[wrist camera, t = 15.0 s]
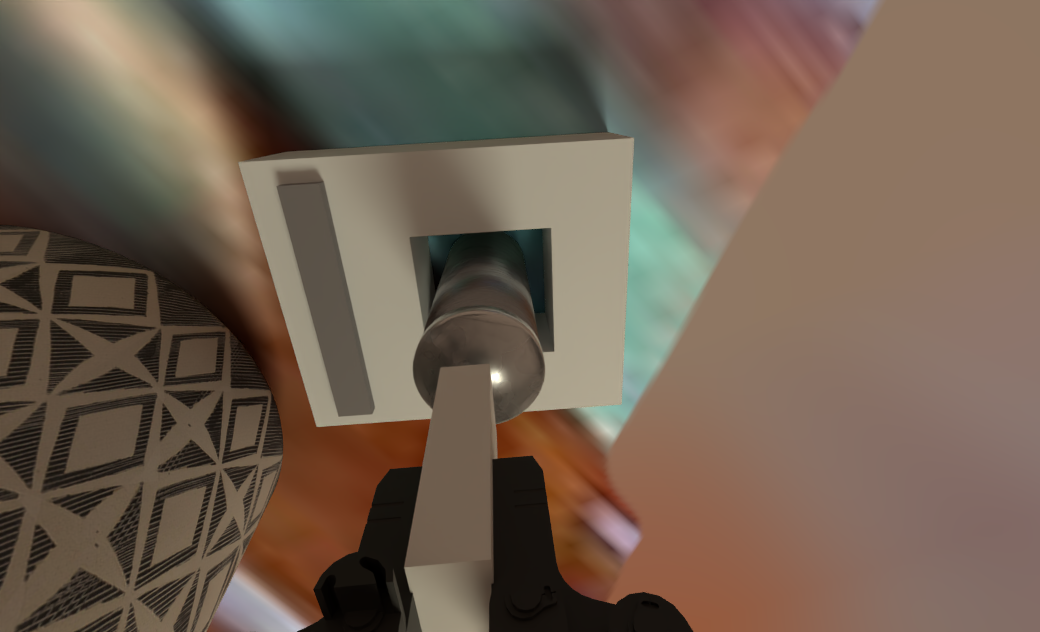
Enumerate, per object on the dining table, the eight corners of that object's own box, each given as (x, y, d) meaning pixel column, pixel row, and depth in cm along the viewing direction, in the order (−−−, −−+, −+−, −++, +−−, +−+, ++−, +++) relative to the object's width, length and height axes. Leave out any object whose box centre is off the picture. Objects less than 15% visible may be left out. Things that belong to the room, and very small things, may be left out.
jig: (286, 151, 24) (230, 163, 19) (608, 132, 24) (637, 138, 19) (343, 378, 30) (313, 433, 25) (602, 359, 30) (624, 410, 25)
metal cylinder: (441, 229, 26) (402, 317, 15) (523, 224, 26) (543, 307, 15) (451, 304, 28) (422, 430, 17) (527, 299, 28) (547, 421, 17)
